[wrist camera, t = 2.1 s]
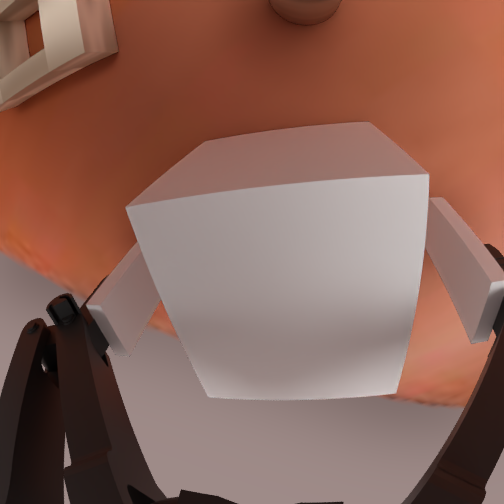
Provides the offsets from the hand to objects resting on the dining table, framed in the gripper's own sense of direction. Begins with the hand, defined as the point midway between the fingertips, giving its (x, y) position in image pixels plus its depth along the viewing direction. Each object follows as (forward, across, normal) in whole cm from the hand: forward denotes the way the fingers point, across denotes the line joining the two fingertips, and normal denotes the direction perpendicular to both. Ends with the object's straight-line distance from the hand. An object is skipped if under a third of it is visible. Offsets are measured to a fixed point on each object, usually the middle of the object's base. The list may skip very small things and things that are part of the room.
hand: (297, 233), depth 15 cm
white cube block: (+2, 0, 0) cm, 2 cm away
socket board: (+2, -12, +17) cm, 21 cm away
